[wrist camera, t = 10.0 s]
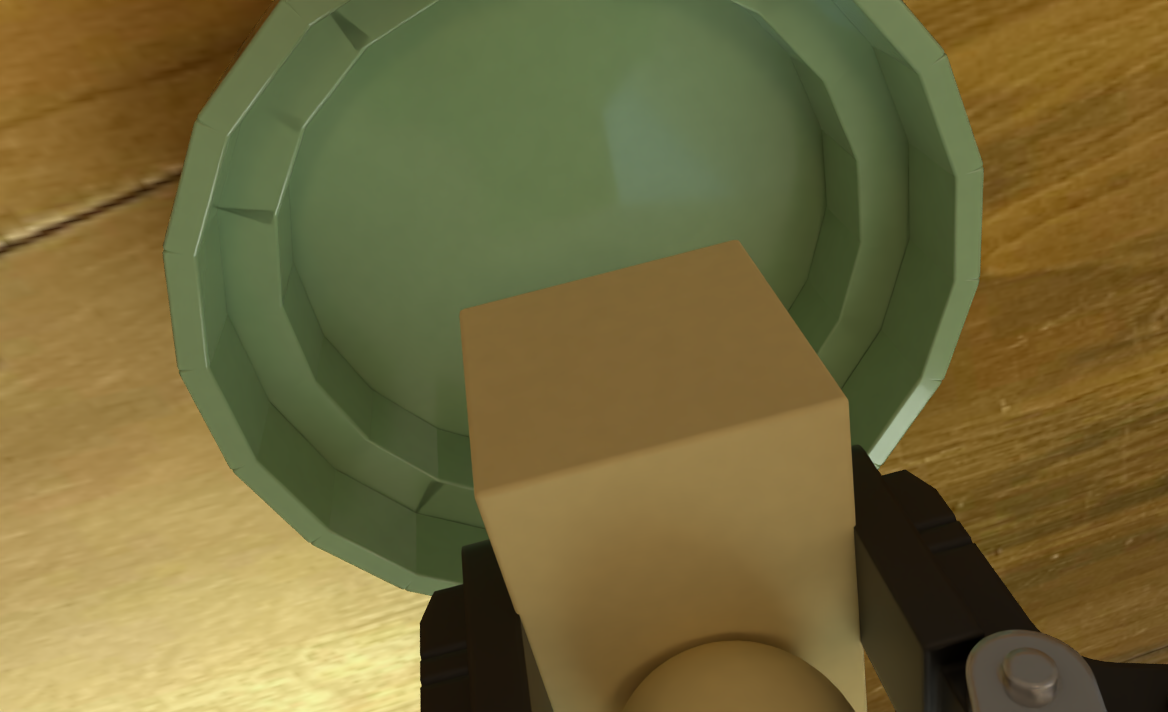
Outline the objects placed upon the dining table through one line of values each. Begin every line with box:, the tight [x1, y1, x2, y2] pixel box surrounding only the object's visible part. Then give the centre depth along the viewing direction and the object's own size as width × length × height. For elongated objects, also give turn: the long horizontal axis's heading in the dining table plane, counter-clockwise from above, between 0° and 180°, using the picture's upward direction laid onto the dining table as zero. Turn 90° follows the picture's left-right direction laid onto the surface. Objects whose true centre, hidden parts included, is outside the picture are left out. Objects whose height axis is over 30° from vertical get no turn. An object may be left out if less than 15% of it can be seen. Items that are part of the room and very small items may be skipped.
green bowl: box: [162, 0, 984, 596], centre depth 21 cm, size 16×16×5 cm
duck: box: [459, 240, 867, 712], centre depth 13 cm, size 7×4×7 cm, turn 12°
